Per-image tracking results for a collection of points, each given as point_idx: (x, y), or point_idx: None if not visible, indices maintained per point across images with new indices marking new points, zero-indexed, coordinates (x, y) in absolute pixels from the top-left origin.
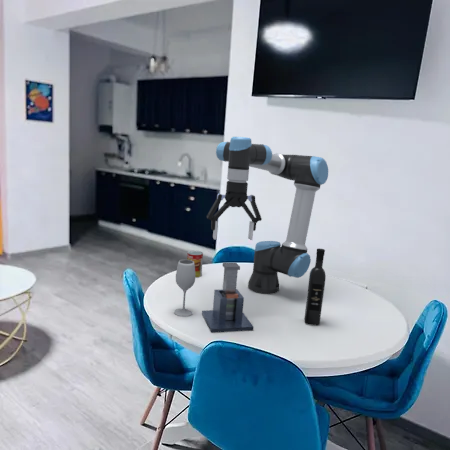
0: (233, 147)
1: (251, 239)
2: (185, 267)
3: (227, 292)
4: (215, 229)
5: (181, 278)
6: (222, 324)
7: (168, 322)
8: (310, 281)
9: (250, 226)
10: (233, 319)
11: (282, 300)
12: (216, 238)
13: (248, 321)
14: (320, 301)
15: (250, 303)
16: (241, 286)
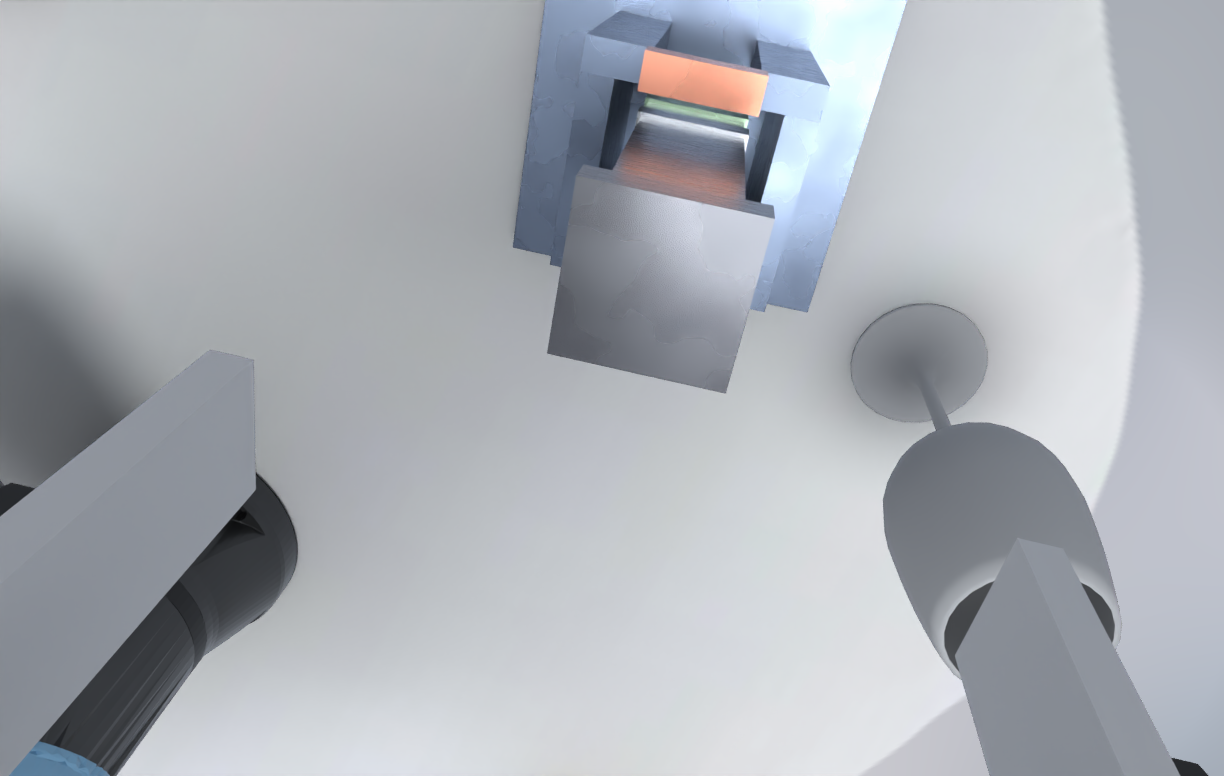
0: None
1: (224, 358)
2: (1078, 549)
3: (723, 144)
4: (1154, 735)
5: (1074, 483)
6: (782, 36)
7: (1108, 256)
8: None
9: (64, 617)
10: None
11: (129, 322)
12: (1029, 555)
13: (552, 19)
14: None
15: (379, 349)
16: (331, 595)
